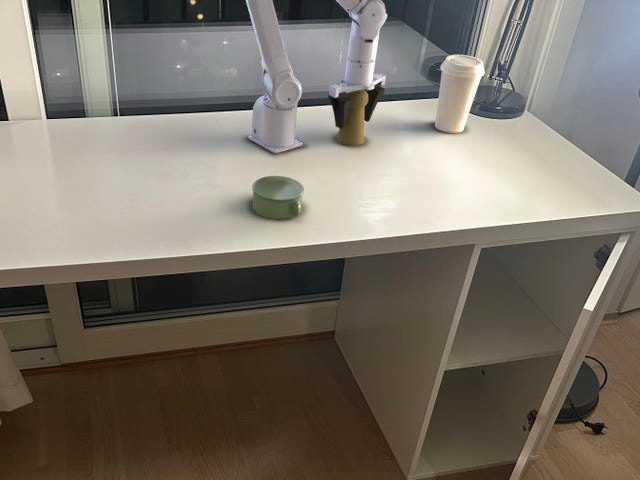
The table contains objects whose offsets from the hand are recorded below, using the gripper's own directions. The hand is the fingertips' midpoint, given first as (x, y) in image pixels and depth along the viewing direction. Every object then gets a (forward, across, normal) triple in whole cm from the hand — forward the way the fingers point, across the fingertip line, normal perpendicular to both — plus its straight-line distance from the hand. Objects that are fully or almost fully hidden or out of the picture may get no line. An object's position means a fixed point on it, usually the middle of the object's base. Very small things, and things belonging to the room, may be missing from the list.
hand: (352, 123), depth 153 cm
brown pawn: (+4, 0, 0) cm, 4 cm away
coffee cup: (+4, +25, -7) cm, 26 cm away
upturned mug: (+4, -33, -15) cm, 36 cm away
